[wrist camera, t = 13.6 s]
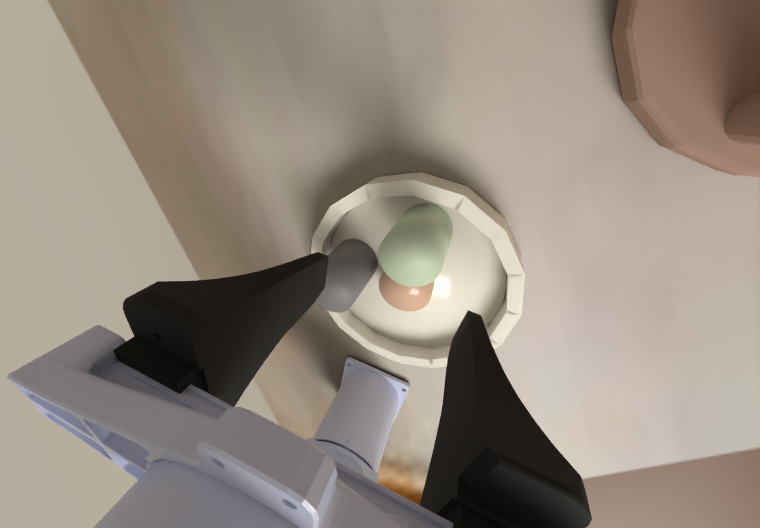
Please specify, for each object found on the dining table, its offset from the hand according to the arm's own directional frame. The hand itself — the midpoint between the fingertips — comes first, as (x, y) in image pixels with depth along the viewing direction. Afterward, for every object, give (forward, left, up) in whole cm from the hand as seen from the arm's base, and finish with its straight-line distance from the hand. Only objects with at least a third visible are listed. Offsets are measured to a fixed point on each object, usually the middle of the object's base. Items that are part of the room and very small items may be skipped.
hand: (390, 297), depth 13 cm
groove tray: (-5, 0, -10) cm, 11 cm away
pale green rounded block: (0, 0, -9) cm, 9 cm away
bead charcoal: (-5, +5, -9) cm, 11 cm away
